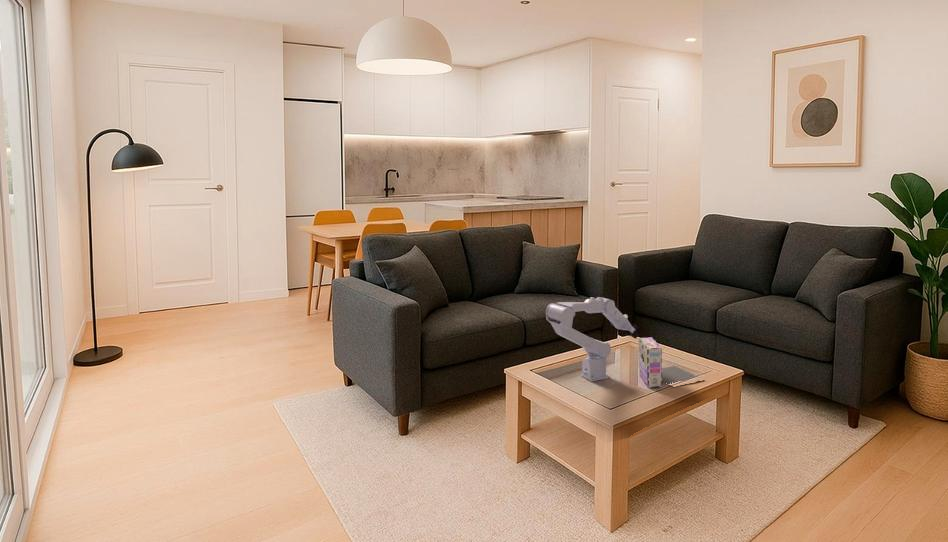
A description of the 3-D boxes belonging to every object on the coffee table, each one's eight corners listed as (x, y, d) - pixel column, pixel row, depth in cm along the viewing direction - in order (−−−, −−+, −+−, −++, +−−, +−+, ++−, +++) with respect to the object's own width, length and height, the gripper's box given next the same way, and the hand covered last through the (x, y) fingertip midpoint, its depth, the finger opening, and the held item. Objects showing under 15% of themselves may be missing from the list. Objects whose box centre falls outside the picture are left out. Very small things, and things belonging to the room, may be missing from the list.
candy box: (662, 387, 237) (662, 347, 233) (647, 388, 237) (646, 348, 233) (653, 374, 250) (652, 336, 247) (638, 375, 250) (638, 337, 247)
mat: (673, 387, 237) (673, 386, 237) (644, 372, 253) (644, 371, 253) (705, 380, 243) (705, 379, 243) (674, 366, 259) (674, 365, 259)
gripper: (632, 316, 246) (648, 332, 253) (610, 302, 258) (625, 319, 265) (621, 329, 245) (637, 345, 253) (599, 315, 257) (615, 331, 265)
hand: (630, 332), depth 259 cm, fingers open, 7 cm apart
